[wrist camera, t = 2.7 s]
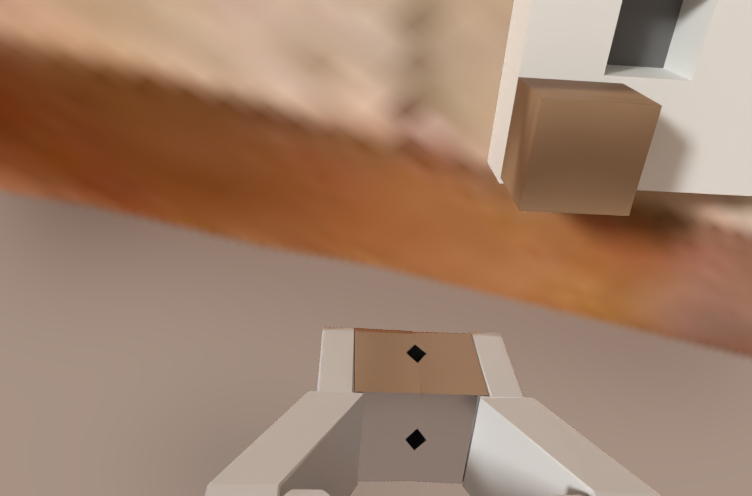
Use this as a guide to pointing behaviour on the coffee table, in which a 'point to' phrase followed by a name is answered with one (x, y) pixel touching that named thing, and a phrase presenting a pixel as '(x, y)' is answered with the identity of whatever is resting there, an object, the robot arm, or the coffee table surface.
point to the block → (577, 146)
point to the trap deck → (649, 79)
